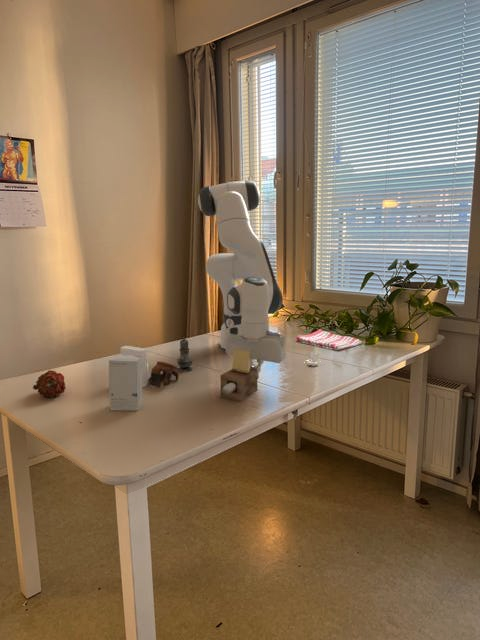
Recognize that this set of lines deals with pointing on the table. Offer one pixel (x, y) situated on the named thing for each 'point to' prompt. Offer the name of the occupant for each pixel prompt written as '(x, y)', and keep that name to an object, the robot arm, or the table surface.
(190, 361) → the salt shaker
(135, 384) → the skincare box
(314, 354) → the teacup and saucer
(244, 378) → the hitch block
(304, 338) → the dish towel
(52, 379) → the dragon fruit
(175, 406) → the table surface
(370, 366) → the table surface
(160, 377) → the brown grey sculpted ring
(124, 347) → the base with upright slab
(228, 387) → the pin
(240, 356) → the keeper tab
